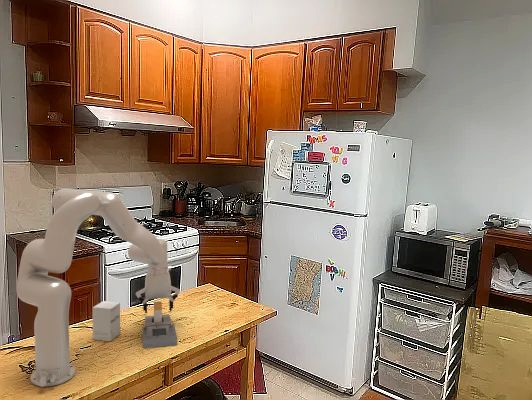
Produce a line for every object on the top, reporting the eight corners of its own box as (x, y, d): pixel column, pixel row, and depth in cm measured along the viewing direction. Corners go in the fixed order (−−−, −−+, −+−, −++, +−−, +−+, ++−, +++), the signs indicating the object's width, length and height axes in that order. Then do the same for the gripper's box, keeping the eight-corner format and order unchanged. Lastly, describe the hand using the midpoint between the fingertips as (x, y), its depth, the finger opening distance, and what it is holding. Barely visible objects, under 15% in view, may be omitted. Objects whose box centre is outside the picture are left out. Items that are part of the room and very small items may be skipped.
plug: (161, 326, 175) (161, 304, 174) (154, 327, 174) (154, 305, 173) (161, 322, 179) (161, 301, 178) (153, 323, 178) (153, 302, 177)
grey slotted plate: (171, 328, 173) (171, 323, 173) (145, 330, 170) (145, 326, 170) (169, 318, 183) (169, 314, 182) (144, 320, 180) (144, 316, 179)
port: (176, 345, 159) (176, 337, 159) (142, 348, 156) (142, 340, 155) (174, 331, 170) (174, 324, 170) (142, 334, 167) (142, 326, 167)
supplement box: (110, 341, 160) (109, 309, 159) (92, 339, 162) (91, 306, 160) (121, 333, 167) (120, 302, 166) (103, 331, 169) (103, 300, 167)
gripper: (179, 266, 180) (179, 305, 182) (135, 268, 175) (136, 309, 177) (180, 271, 172) (180, 312, 175) (135, 274, 168) (136, 316, 170)
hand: (158, 311), depth 176 cm, fingers open, 9 cm apart
